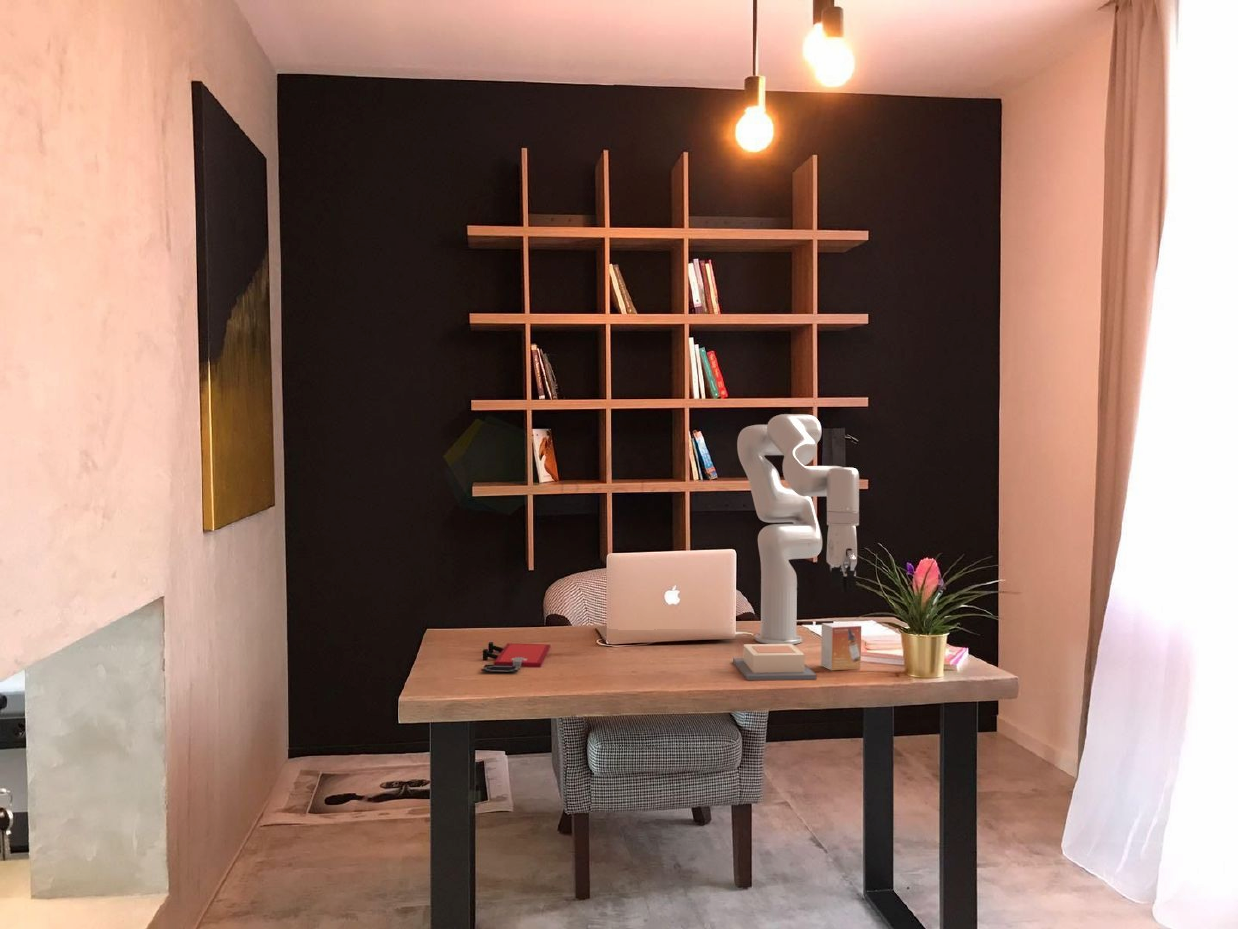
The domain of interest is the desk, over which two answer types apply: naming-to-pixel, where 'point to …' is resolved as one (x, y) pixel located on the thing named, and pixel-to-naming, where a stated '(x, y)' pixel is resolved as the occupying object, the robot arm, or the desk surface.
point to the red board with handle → (515, 656)
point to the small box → (841, 646)
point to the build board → (772, 675)
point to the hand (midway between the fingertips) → (842, 590)
